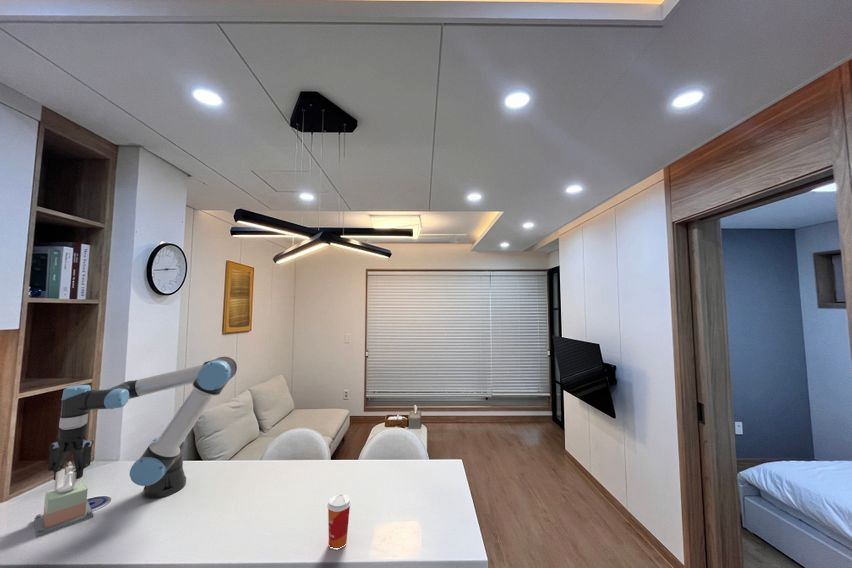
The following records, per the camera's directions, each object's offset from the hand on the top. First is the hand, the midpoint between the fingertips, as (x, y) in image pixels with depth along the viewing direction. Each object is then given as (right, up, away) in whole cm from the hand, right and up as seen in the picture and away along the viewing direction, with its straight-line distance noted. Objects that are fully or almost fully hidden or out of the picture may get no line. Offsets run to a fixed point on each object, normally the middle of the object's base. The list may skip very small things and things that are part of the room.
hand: (67, 487), depth 124 cm
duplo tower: (0, -12, -1) cm, 12 cm away
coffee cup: (+108, -13, -11) cm, 110 cm away
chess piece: (0, -1, 0) cm, 1 cm away
